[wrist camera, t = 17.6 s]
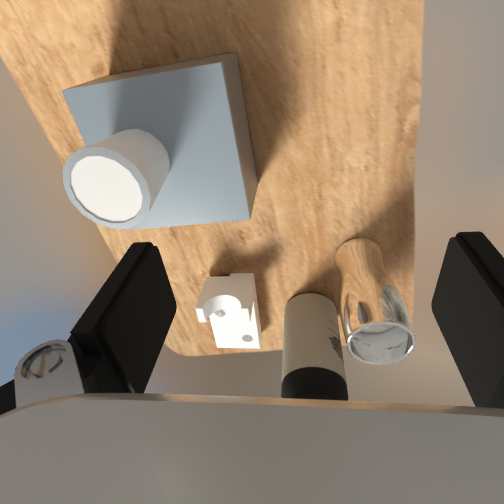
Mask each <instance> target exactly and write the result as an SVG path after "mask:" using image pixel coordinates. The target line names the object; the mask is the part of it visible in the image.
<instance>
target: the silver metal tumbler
mask: <svg viewBox="0 0 504 504" xmlns="http://www.w3.org/2000/svg"><path fill="white" fill-rule="evenodd" d="M335 261H336V264H337V267H338V269H339V271H340V273H341V289H340V317H341V322H342V327H343V332H344V335H345V339H346V343H347V348H348V351H349V353H350V354H351V355H352V356H353V357H354V358H355V359H357V360H359V361H361V362H363V363H367V364H373V365H384V364H391V363H394V362H397V361H400V360H402V359H404V358H405V357H407V356H408V355H409V354H410V353H411V352H412V351H413V349H414V347H415V345H416V338H415V335H414V333H413V328H412V324H411V320H410V317H409V313H408V310H407V307H406V305H405V302H404V300H403V298H402V295H401V294H400V292H399V290H398V289H397V287H396V285H395V284H394V282H393V281H392V279H391V278H390V277H389V275H388V274H387V272H386V271H385V269H384V267H383V263H382V251H381V249H380V247H379V246H378V244H377V243H375V242H374V241H372V240H370V239H366V238H355V239H351V240H349V241H347V242H345V243H343V244H342V245H341V246H340V247H339V248H338V250H337V252H336V256H335Z"/></svg>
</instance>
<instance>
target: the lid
mask: <svg viewBox="0 0 504 504" xmlns="http://www.w3.org/2000/svg"><path fill="white" fill-rule="evenodd" d="M62 92H63V94H64V97H65V99H66V101H67V104H68V106H69V108H70V110H71V113H72V115H73V117H74V119H75V122H76V124H77V126H78V128H79V131H80V133H81V135H82V137H83V140H84V142H85V144H86V146H88V145H90V144H93V143H95V142H97V141H100V140H102V139H105V138H107V137H109V136H112V135H114V134H116V133H119V132H121V131H124V130H126V129H140V130H143V131H146V132H148V133H151V134H152V135H153V136H154V137H156V138H157V139H158V140H159V141H160V142H161V143H162V145H163V146H164V148H165V149H166V151H167V153H168V157H169V161H170V167H169V173H168V176H167V178H166V180H165V182H164V184H163V186H162V188H161V190H160V191H159V193H158V195H157V197H156V199H155V201H154V203H153V205H152V207H151V209H150V211H149V213H148V214H147V215H146V217H145V218H144V219H143V221H142V222H141V223H139V224H137V225H135V226H133V227H130V228H128V229H123V230H135V229H147V228H158V227H170V226H181V225H193V224H204V223H216V222H227V221H239V220H250V218H251V213H250V208H249V202H248V197H247V191H246V186H245V181H244V175H243V170H242V164H241V159H240V153H239V148H238V142H237V137H236V131H235V126H234V121H233V115H232V110H231V104H230V99H229V93H228V88H227V82H226V77H225V71H224V66H223V61H221V62H216V63H210V64H204V65H199V66H193V67H187V68H182V69H176V70H170V71H165V72H159V73H153V74H148V75H142V76H136V77H131V78H125V79H119V80H114V81H108V82H102V83H97V84H91V85H85V86H80V87H74V88H68V89H65V90H62Z"/></svg>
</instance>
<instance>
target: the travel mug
mask: <svg viewBox="0 0 504 504" xmlns="http://www.w3.org/2000/svg"><path fill="white" fill-rule="evenodd" d="M282 367H283V368H282V393H281V397H282V398H292V399H317V400H342V401H348V392H347V384H346V377H345V369H344V362H343V355H342V348H341V340H340V333H339V325H338V318H337V310H336V306H335V304H334V303H333V302H332V301H331V300H330V299H329V298H327V297H325V296H323V295H320V294H316V293H305V294H300V295H298V296H295V297H294V298H292V299H291V300H290V301H289V302H288V303H287V304H286V307H285V315H284V341H283V366H282Z"/></svg>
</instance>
